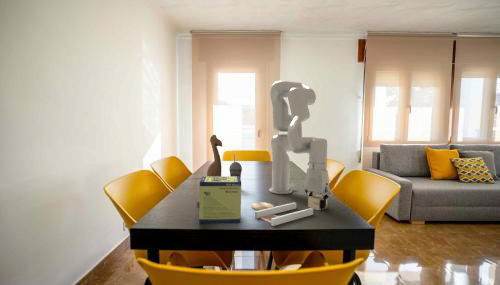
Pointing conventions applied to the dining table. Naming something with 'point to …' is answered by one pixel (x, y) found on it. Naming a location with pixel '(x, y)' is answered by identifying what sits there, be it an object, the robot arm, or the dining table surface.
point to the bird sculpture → (215, 166)
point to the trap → (268, 217)
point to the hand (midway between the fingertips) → (316, 206)
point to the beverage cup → (235, 169)
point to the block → (315, 202)
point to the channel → (284, 217)
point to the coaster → (261, 206)
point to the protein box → (220, 200)
